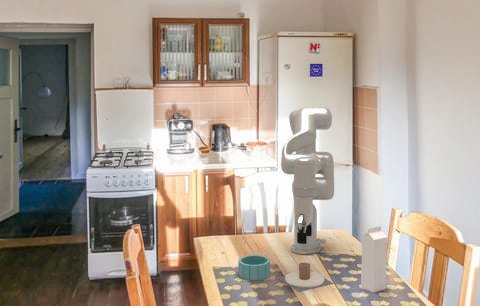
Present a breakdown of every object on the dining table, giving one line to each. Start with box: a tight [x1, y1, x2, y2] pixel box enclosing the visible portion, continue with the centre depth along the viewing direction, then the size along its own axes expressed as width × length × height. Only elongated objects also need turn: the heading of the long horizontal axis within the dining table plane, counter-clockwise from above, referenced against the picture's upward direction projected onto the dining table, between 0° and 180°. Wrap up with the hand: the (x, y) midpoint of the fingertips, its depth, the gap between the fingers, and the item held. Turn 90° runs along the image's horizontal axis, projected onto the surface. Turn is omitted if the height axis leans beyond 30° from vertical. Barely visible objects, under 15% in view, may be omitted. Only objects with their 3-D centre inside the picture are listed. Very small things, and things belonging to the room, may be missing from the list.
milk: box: [360, 225, 388, 293], centre depth 176 cm, size 6×6×22 cm
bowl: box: [238, 254, 271, 282], centre depth 192 cm, size 12×12×6 cm
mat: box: [275, 269, 335, 293], centre depth 185 cm, size 15×15×1 cm
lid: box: [284, 262, 325, 289], centre depth 185 cm, size 14×14×6 cm
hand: (304, 239), depth 183 cm, fingers open, 9 cm apart
